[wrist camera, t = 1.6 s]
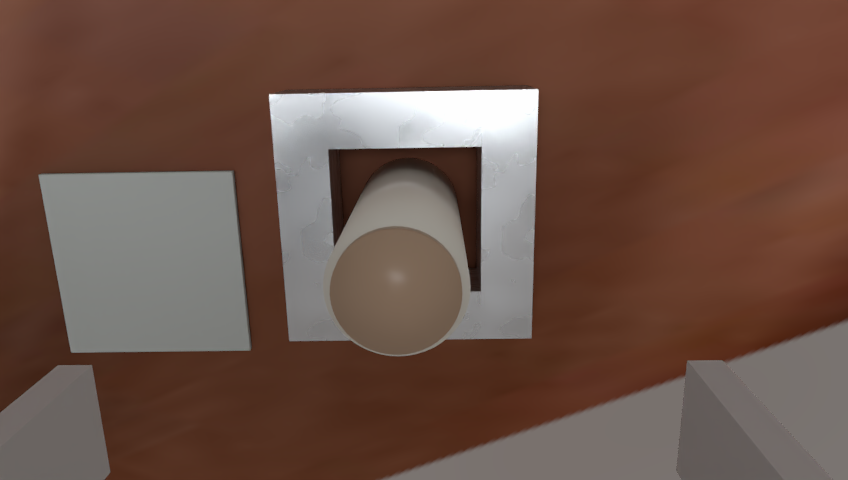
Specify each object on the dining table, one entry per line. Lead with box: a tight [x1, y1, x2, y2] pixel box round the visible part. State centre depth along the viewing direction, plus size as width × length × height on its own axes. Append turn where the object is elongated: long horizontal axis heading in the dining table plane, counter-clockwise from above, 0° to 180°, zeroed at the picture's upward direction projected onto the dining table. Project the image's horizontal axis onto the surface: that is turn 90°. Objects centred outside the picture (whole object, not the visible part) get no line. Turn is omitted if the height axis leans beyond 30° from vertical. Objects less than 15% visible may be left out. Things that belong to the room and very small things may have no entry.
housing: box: [269, 85, 538, 341], centre depth 33 cm, size 12×12×4 cm
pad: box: [39, 171, 252, 353], centre depth 35 cm, size 10×10×1 cm
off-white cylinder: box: [323, 158, 471, 356], centre depth 28 cm, size 5×5×13 cm
